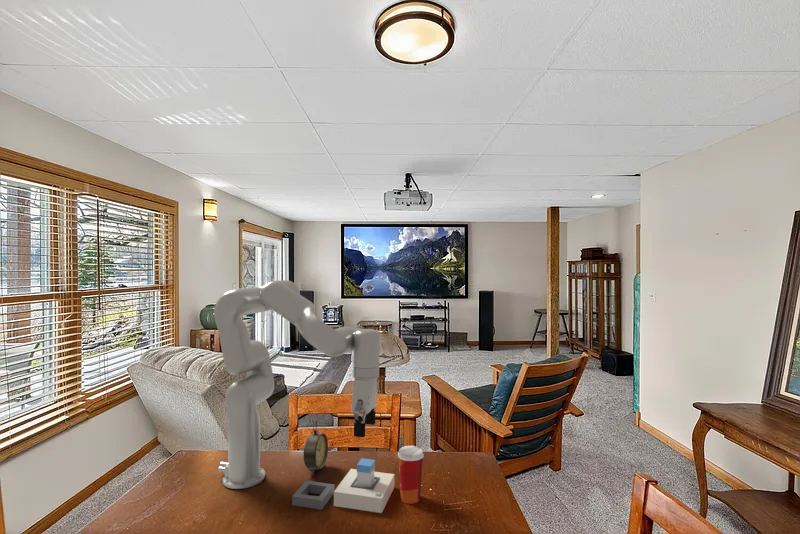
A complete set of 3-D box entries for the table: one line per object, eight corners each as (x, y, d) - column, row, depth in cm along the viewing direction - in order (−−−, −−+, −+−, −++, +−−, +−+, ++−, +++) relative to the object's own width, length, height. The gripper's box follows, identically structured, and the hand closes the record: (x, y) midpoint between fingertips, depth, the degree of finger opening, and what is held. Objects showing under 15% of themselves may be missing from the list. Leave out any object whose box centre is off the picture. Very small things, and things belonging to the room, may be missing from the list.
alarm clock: (316, 479, 133) (316, 427, 133) (300, 477, 135) (300, 426, 135) (328, 463, 144) (329, 416, 144) (313, 462, 145) (314, 414, 145)
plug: (356, 499, 122) (356, 464, 122) (361, 491, 126) (361, 458, 126) (370, 501, 121) (370, 466, 121) (374, 493, 125) (375, 459, 125)
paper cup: (410, 488, 128) (410, 442, 128) (429, 498, 123) (429, 450, 123) (391, 498, 123) (391, 450, 123) (410, 509, 117) (410, 458, 117)
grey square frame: (292, 505, 119) (292, 496, 119) (306, 488, 128) (306, 480, 128) (321, 509, 117) (321, 500, 117) (334, 492, 125) (334, 484, 125)
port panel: (333, 505, 119) (333, 489, 119) (350, 481, 132) (351, 467, 132) (381, 513, 115) (381, 496, 115) (394, 487, 129) (394, 472, 129)
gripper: (363, 364, 133) (362, 418, 133) (343, 378, 116) (342, 440, 116) (386, 366, 131) (385, 421, 131) (369, 380, 115) (368, 443, 115)
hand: (364, 430), depth 124 cm, fingers open, 9 cm apart
